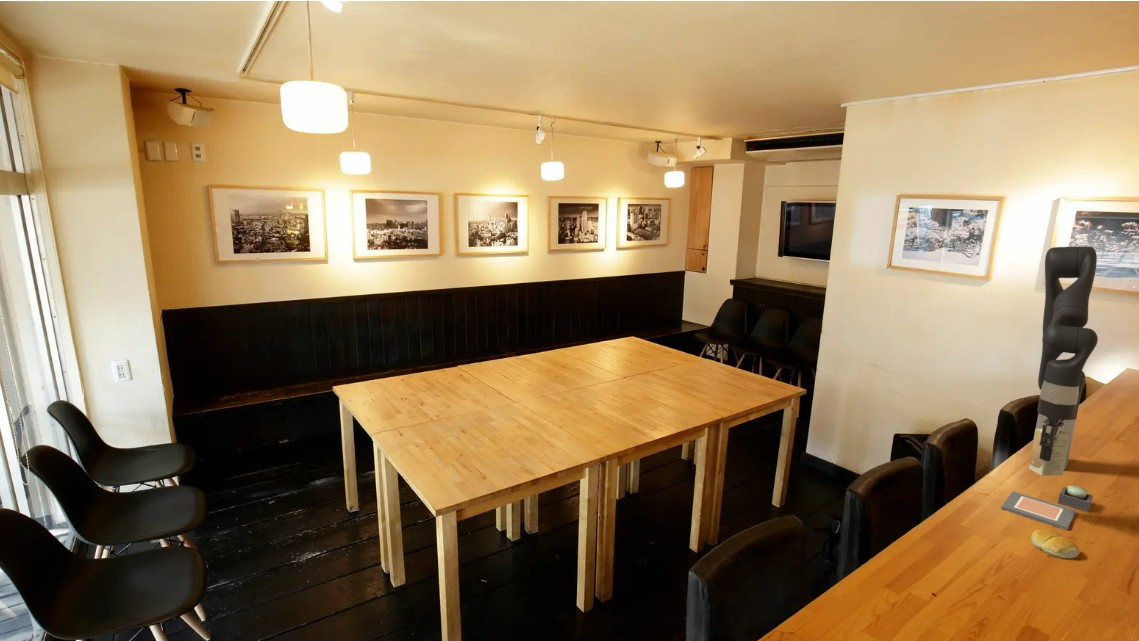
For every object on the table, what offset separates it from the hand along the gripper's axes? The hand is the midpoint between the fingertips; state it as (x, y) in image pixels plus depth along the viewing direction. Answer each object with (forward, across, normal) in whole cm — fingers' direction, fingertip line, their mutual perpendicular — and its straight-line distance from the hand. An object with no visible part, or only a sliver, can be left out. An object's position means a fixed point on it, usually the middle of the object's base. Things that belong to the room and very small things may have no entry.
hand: (1047, 455), depth 149 cm
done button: (+14, -13, +6) cm, 20 cm away
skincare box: (+5, 0, 0) cm, 5 cm away
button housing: (+17, -13, +6) cm, 22 cm away
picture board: (+17, 0, 0) cm, 17 cm away
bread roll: (+17, +19, +6) cm, 27 cm away
